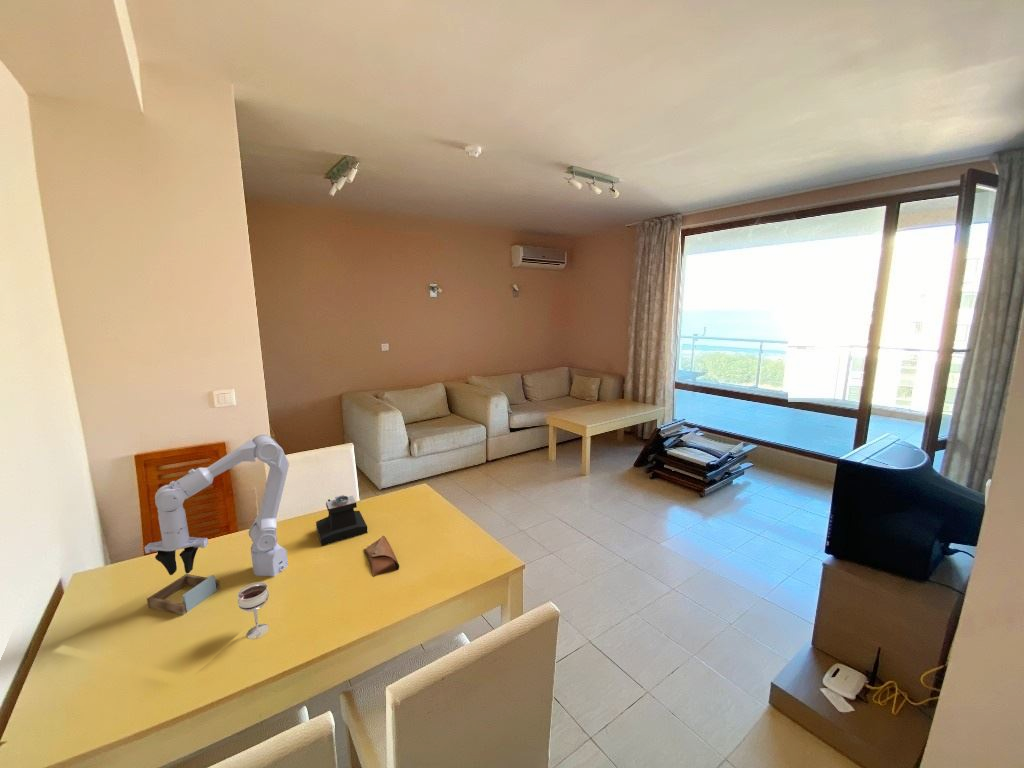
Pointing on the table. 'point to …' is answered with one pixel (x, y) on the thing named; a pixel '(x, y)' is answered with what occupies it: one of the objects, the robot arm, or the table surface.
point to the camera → (340, 521)
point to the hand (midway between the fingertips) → (181, 572)
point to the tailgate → (199, 593)
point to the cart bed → (170, 606)
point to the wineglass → (254, 605)
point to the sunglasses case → (381, 557)
